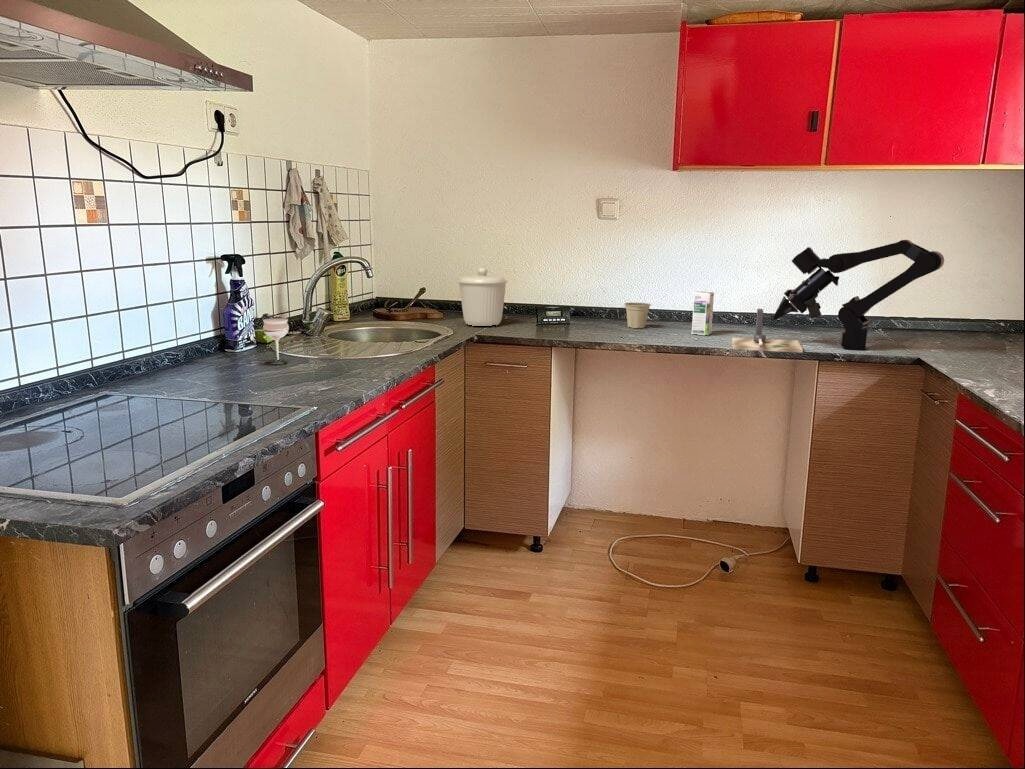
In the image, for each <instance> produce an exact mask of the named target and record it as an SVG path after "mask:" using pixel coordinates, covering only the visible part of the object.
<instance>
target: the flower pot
mask: <svg viewBox="0 0 1025 769" xmlns="http://www.w3.org/2000/svg"><path fill="white" fill-rule="evenodd" d="M650 306H652V304H651V303H647V302H624V307H625V310H626V320H627V321H626V322H627V328H629V327H632V328H631V329H634V328H637V329H640V328H643V329H645V328H646V324H647V319H648V314H649V313H648V312H649V310H650ZM644 327H645V328H644Z"/></svg>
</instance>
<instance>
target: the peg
mask: <svg viewBox="0 0 1025 769" xmlns="http://www.w3.org/2000/svg"><path fill="white" fill-rule="evenodd" d="M763 316H764V310H763V308H757V309H756V319H755V320H756V323H755V333H754V334H753V338H754V340H753V341H754V342H759V345H763V342H765V341H766V339H767V335H766V334H762V332H763V318H764V317H763Z"/></svg>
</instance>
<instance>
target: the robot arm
mask: <svg viewBox="0 0 1025 769" xmlns="http://www.w3.org/2000/svg"><path fill="white" fill-rule="evenodd" d="M898 255H902V256H905V257H906V258H908V259H909V260H911V261H913V263H912V264H911V265H910V266H909V267H908V268H907V269H906V270H904V271H903V272H901V273H900V274H898V275H896V276H895V277H893V278H892V279H891V280H889V281H887V282H886V283H885V284H883V285H881V286H880V287H878V288H876V289H875V290H874V291H872V292H870V293H869V294H867V295H865V296H864V297H862V298H860V297H859V295H857V296H853V297H852V298H851V299H850V300H849V301H847V302H845V303H842V304H841V306H842V307H841V308H839V310H838V313H837V317H838V320H839V321H840V322H841V323H842V325H843V326H842V327H843V331H841V333H840V336H841V337H840V346H841V348H842V349H843V350H857V351H859V350H860V351H867V350H868V349H867V346H866V345H867V337H868V328H867V327H868V325H869V324H870V320H869V319H868V318H867V317H866V316H865V315H866V314H867V313H868V312H869V311H870V310H871V309H872V308H873V307H874V306H876V305H877V304H879V303H881V302H882V301H884V300H885V299H887V298H888V297H890V296H892V295H893V294H895V293H896V292H898V291H899V290H901V289H903V288H905V287H906V286H907V285H909V284H910V283H912V282H914V281H915V280H917V279H919V278H922V277H924V276H926V275H929V274H931V273H933V272H936V271H938V270H940V269H942V267H943V266H944V263H945V258H944V255H943V254H942V252H939V251H936V250H931V251H930V250H928V249H926V248H924V247H922V246H920V245H918V244H915V243H913V242H912V241H911V240H909V239H901V240H899V241H897V242H896V241H895V242H894V243H890V244H885V245H882V246H878V247H877V246H876V247H874V248H869V249H865V250H862V251H854V252H843V253H842V252H841V253H836V254H833V255H830V256H829V257H828V258H825V257H822V258H821V257H819V256H818V254H817V253H815V251H814V249H813V248H812V247H811V246H808V247H806V248H805V249H804V250H803V251H801V252H800V253H798V254H796V256H794V258H792V260H791V263H792V264H793V265H794V266H796V268H797V269H798V270H799V271H800V272H801V273H802V274H803V275H806V274H807V275H810V276H809V277H808V278H806V279H803V281H801V283H800V284H799V285H798V286H797V287H796V288H793V289H789V288H788V289H787V290H785V291H784V292H783V294H784V296H783V298H782V299H781V301H780V303H779V305H778V307H777V308H776V311H775V312H774V315H773V316H772V318H773V320H775V321H777V320H778V319H780V318H782V317H784V316H786V315H788V314H790V313H799V312H800V314H803V313H805V312H806V311H808V315H809V317H810V319H811V320H812V319H816V318H819V317H821V316H822V312H821V309H822V308H821V305H820V303H819V302H817V298H818V297H819V294H820V293H821V292H822V291H823V290H824V289H826V288H827V287H828V286H829V285H830V284H831V283H833V284H834V285H835V286H836V287H838V286H839V281H840V276H835V275H834V274H841V273H844V272H847V271H848V270H850V269H853V268H856V267H857V266H860V265H862V264H865V263H869V262H874V261H878V260H882V259H885V258H890V257H893V256H898ZM824 268H825V269H828V270H826V271H825V269H824Z"/></svg>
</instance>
